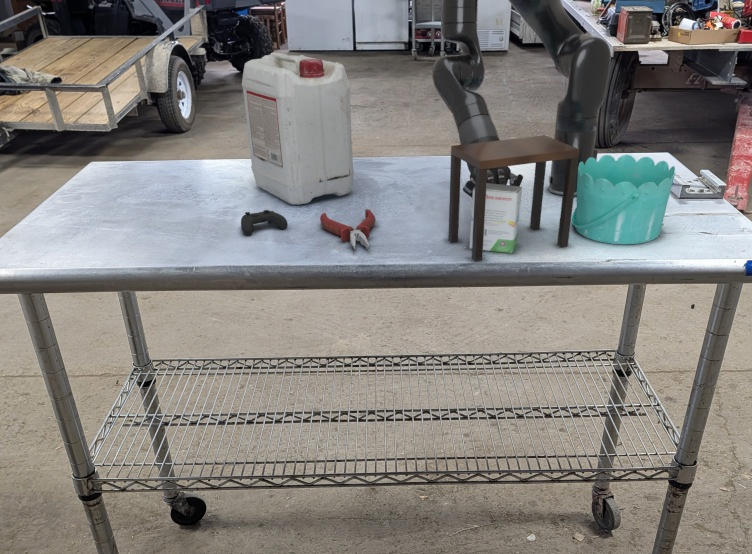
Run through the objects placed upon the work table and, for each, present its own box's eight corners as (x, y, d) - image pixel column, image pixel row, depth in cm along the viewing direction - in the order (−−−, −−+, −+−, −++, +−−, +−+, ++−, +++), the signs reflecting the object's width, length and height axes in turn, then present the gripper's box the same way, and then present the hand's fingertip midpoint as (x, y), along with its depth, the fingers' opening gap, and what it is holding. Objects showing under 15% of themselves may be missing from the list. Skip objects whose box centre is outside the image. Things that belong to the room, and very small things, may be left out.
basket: (661, 251, 136) (674, 183, 129) (564, 241, 142) (571, 176, 135) (665, 219, 151) (676, 157, 144) (576, 211, 157) (584, 151, 150)
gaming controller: (245, 233, 146) (236, 207, 147) (242, 245, 151) (233, 220, 152) (289, 225, 150) (280, 199, 151) (285, 237, 155) (276, 212, 156)
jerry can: (362, 195, 170) (357, 57, 154) (292, 210, 161) (279, 66, 145) (312, 173, 187) (303, 47, 171) (247, 186, 178) (231, 54, 162)
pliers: (332, 256, 137) (332, 243, 135) (319, 223, 153) (318, 211, 152) (391, 251, 139) (391, 238, 137) (371, 218, 155) (371, 207, 154)
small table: (535, 227, 149) (544, 135, 139) (567, 246, 139) (579, 149, 129) (448, 240, 143) (451, 145, 133) (475, 261, 134) (480, 161, 124)
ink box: (468, 249, 139) (471, 188, 133) (475, 240, 143) (478, 181, 137) (512, 254, 136) (517, 192, 130) (517, 244, 141) (522, 184, 134)
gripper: (456, 137, 138) (482, 218, 135) (517, 130, 142) (543, 209, 138) (444, 158, 145) (468, 236, 142) (503, 152, 149) (527, 227, 145)
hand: (505, 223), depth 140 cm, fingers closed
